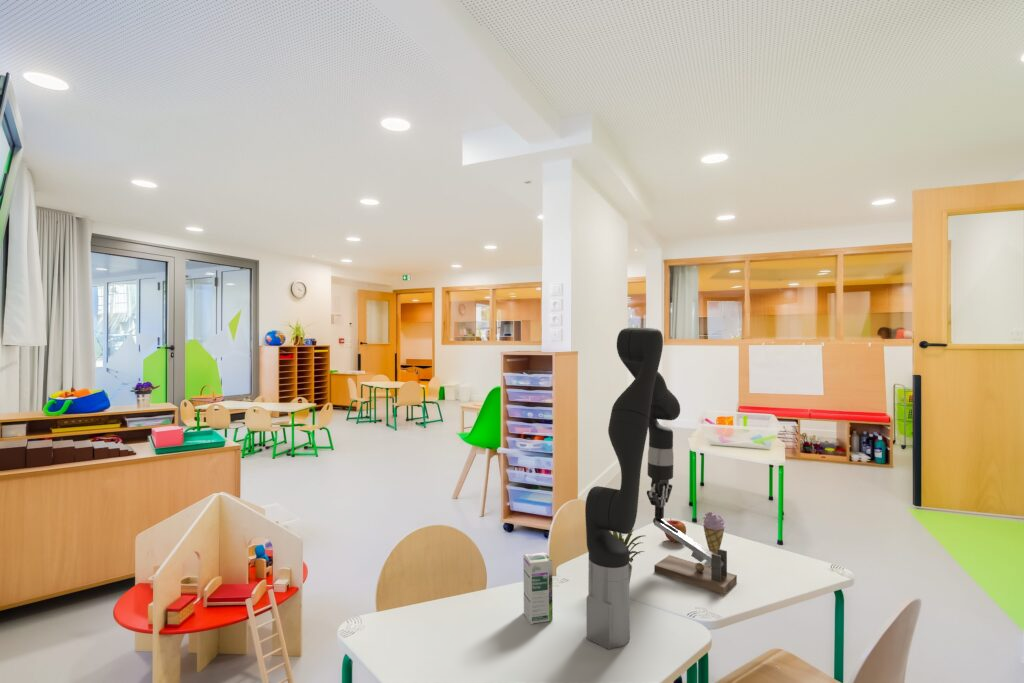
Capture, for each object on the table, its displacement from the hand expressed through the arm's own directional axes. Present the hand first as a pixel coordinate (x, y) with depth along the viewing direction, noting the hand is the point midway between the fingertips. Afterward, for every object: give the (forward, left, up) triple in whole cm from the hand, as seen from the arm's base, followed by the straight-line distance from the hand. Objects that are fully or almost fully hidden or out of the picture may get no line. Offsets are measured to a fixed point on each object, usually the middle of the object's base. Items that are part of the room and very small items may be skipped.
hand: (659, 518), depth 148 cm
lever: (0, -8, -7) cm, 10 cm away
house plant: (-21, 0, -15) cm, 26 cm away
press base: (0, -11, -14) cm, 18 cm away
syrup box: (-48, +8, -15) cm, 51 cm away
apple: (+22, +5, -15) cm, 27 cm away
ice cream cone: (+17, -10, -15) cm, 25 cm away
